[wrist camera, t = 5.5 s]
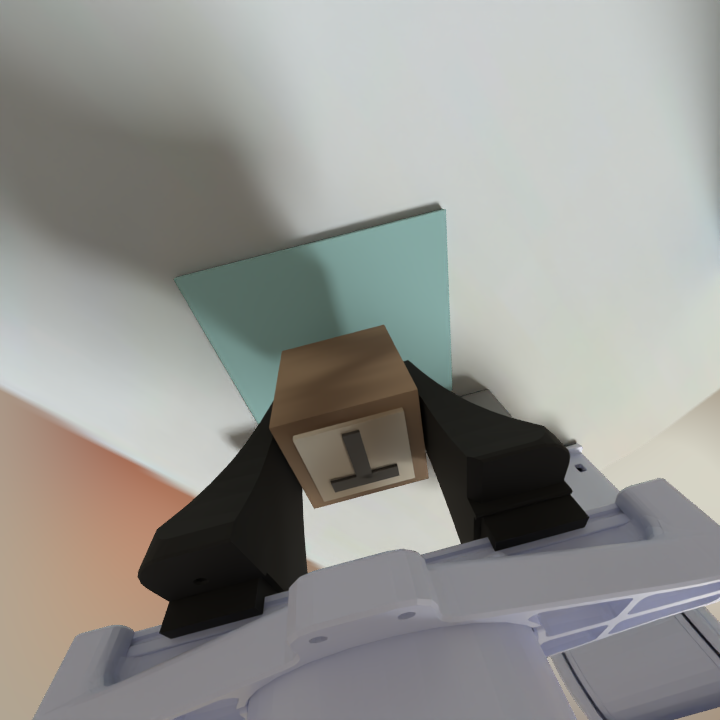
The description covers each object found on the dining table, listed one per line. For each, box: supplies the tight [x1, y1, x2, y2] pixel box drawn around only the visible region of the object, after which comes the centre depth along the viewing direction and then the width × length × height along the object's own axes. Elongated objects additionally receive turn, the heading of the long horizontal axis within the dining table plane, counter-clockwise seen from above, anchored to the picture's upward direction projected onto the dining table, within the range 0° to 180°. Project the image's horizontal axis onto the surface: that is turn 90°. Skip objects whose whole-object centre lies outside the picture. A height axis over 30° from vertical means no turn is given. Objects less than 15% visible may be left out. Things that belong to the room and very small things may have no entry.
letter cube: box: [269, 325, 429, 509], centre depth 13 cm, size 5×5×5 cm
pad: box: [174, 209, 452, 424], centre depth 18 cm, size 14×12×1 cm
